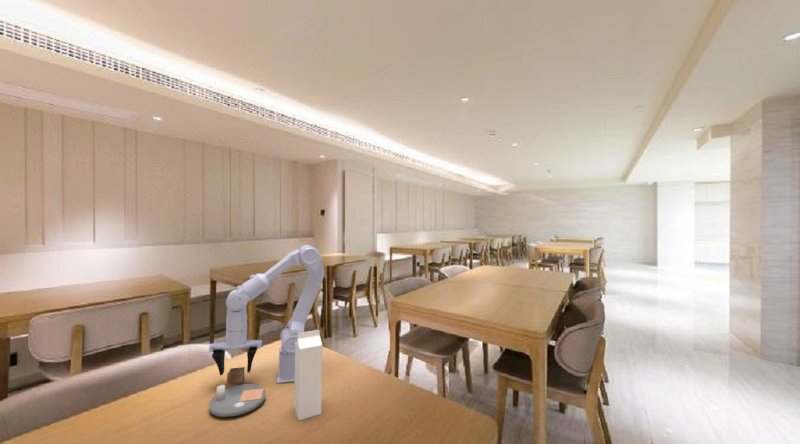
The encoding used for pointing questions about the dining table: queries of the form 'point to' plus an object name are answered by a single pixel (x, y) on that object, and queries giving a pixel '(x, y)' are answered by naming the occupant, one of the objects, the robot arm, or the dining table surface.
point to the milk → (308, 374)
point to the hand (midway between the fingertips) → (235, 372)
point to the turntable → (236, 399)
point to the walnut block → (235, 377)
